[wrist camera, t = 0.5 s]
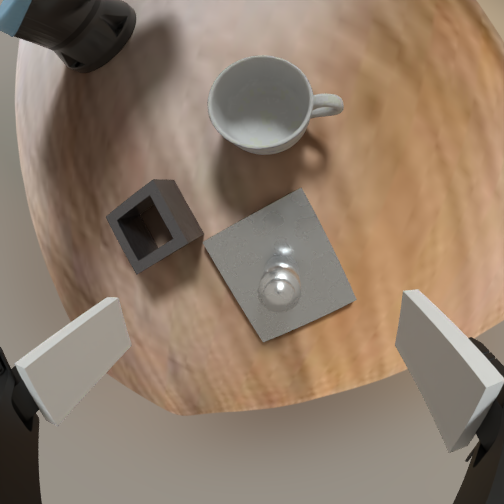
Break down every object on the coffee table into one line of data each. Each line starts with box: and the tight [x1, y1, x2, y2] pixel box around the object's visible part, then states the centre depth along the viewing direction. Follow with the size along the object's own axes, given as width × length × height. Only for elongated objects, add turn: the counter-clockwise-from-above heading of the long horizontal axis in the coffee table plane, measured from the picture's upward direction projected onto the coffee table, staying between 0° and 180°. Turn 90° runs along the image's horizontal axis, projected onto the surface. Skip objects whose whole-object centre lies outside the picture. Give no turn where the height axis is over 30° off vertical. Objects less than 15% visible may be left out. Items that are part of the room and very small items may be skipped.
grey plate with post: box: [203, 188, 356, 342], centre depth 31 cm, size 16×14×10 cm
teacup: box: [208, 55, 344, 155], centre depth 27 cm, size 14×11×8 cm
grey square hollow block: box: [106, 179, 204, 274], centre depth 33 cm, size 8×8×6 cm
